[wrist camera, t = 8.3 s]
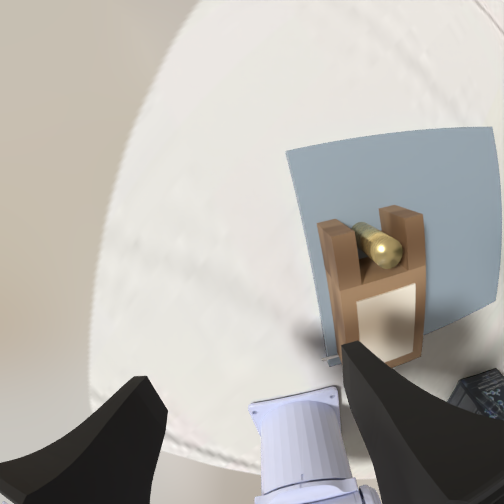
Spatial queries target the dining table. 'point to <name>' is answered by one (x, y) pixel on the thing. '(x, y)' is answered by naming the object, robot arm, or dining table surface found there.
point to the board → (413, 198)
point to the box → (481, 394)
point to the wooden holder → (378, 288)
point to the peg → (377, 245)
